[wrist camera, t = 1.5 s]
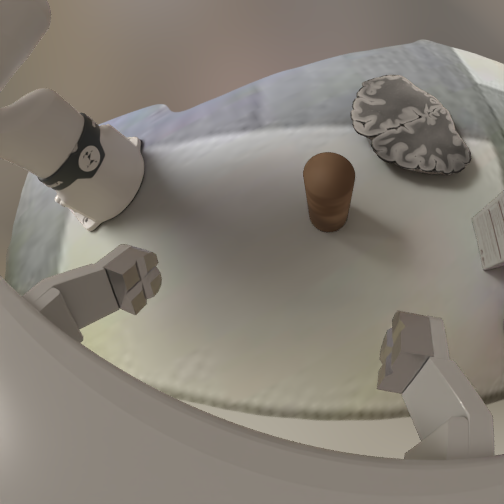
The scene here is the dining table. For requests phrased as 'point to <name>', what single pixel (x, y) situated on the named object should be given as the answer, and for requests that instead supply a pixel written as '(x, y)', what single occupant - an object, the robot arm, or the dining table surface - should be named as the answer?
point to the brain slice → (408, 127)
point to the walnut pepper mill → (328, 190)
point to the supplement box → (491, 233)
